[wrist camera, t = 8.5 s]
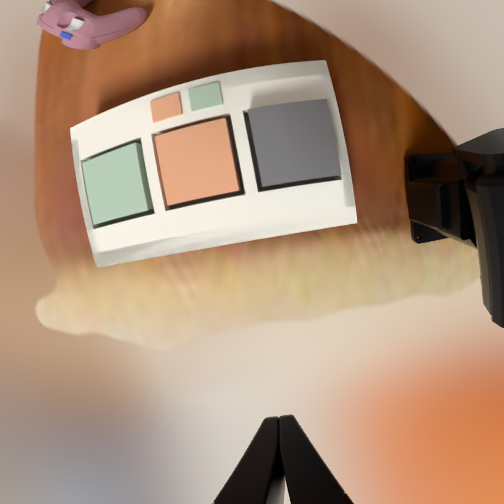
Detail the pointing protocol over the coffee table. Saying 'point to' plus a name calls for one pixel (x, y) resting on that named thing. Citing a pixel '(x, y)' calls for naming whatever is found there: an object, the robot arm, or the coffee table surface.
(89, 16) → the video game controller
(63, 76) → the coffee table surface
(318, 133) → the charcoal key
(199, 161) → the terracotta key
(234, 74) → the pad
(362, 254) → the coffee table surface
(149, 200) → the sage key
